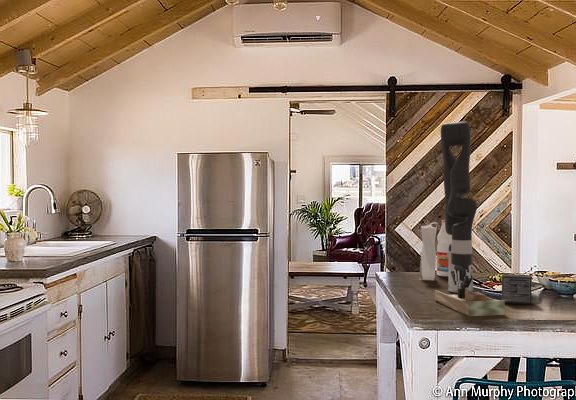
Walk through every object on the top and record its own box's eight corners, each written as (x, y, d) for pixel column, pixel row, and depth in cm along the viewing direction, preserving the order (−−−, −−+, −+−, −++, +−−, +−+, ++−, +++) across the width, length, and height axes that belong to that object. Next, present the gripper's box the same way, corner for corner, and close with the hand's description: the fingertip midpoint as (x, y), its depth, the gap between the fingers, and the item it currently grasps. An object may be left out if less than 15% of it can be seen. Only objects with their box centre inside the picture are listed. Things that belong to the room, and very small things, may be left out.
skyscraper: (437, 278, 276) (437, 221, 275) (437, 281, 268) (438, 222, 267) (419, 278, 277) (419, 221, 277) (419, 280, 270) (419, 222, 269)
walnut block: (478, 306, 202) (478, 292, 202) (485, 308, 197) (485, 294, 197) (465, 306, 201) (465, 292, 201) (472, 309, 196) (472, 295, 196)
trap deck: (466, 299, 224) (466, 286, 224) (504, 314, 197) (504, 300, 197) (434, 300, 222) (434, 287, 222) (468, 316, 194) (469, 301, 194)
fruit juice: (453, 273, 289) (453, 219, 289) (458, 276, 280) (458, 220, 279) (434, 273, 290) (435, 219, 289) (438, 276, 280) (439, 220, 280)
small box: (530, 301, 220) (530, 274, 219) (531, 305, 213) (532, 277, 213) (501, 299, 223) (501, 273, 223) (501, 303, 217) (502, 276, 217)
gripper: (480, 253, 203) (479, 301, 203) (462, 249, 216) (462, 294, 216) (460, 254, 201) (460, 302, 202) (444, 250, 214) (443, 295, 215)
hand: (461, 298), depth 209 cm, fingers closed
